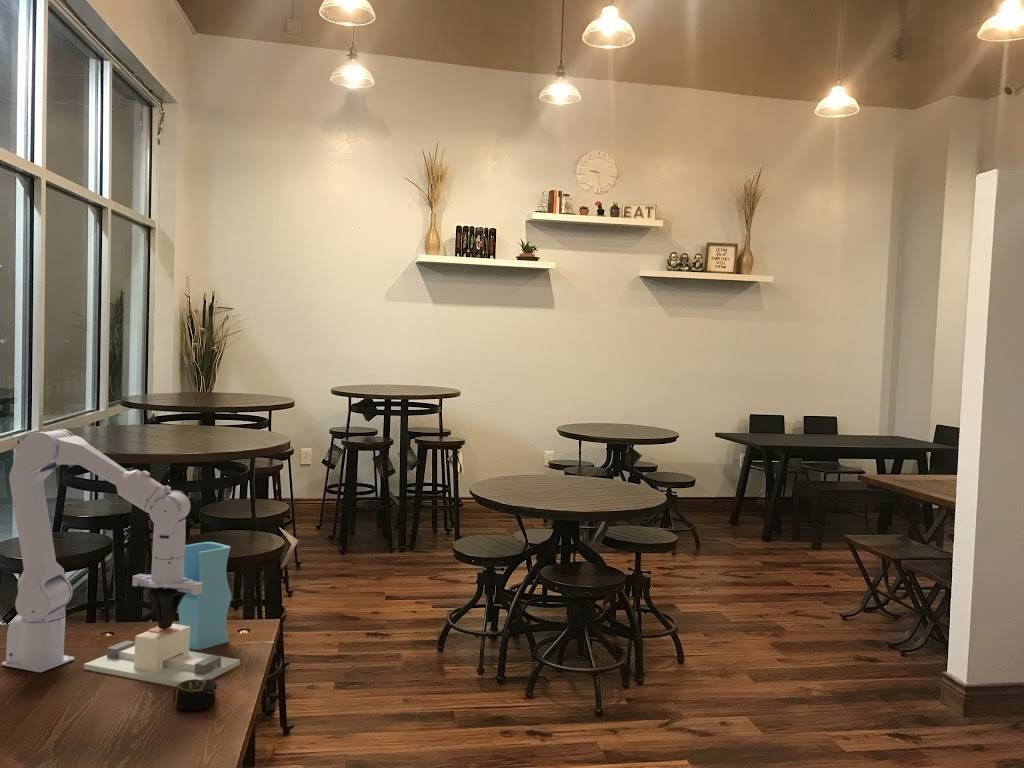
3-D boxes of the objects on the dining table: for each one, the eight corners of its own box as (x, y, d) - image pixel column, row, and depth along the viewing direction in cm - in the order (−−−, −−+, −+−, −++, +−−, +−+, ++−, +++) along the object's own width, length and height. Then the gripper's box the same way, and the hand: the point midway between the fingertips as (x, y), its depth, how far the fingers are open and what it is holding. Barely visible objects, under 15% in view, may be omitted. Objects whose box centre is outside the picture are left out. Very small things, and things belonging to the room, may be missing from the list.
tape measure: (214, 713, 138) (216, 691, 138) (170, 716, 136) (171, 693, 136) (216, 697, 145) (217, 676, 145) (174, 700, 143) (175, 678, 143)
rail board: (83, 669, 154) (84, 654, 154) (138, 647, 168) (139, 633, 168) (191, 689, 147) (192, 674, 147) (239, 664, 161) (240, 650, 161)
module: (133, 668, 154) (135, 634, 154) (167, 653, 162) (169, 621, 162) (156, 672, 152) (157, 638, 152) (188, 657, 161) (190, 624, 161)
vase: (173, 642, 172) (177, 546, 172) (206, 633, 178) (210, 541, 178) (196, 650, 167) (200, 552, 167) (229, 641, 174) (233, 546, 174)
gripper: (121, 556, 156) (118, 627, 156) (186, 564, 151) (182, 638, 151) (148, 549, 162) (145, 618, 163) (210, 557, 158) (207, 628, 158)
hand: (165, 627), depth 157 cm, fingers closed
